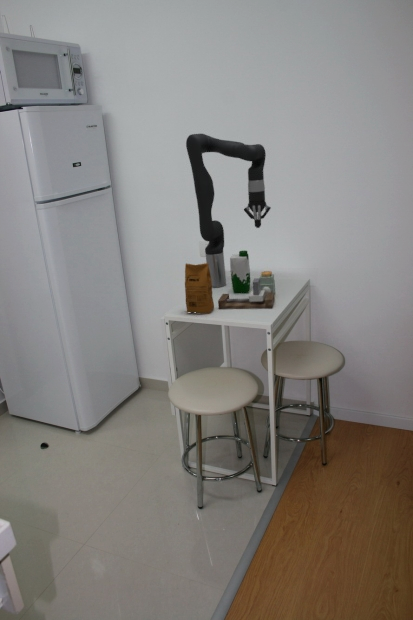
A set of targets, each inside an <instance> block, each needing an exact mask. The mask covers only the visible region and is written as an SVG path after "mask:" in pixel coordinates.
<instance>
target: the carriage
mask: <svg viewBox="0 0 413 620" xmlns="http://www.w3.org/2000/svg"><path fill="white" fill-rule="evenodd" d="M248 298H249V302H252V301H263V300H264V298H265V290H261V288H260V277H258V278H254V279H253V281H252V290H251V291H250V293H249V295H248Z"/></svg>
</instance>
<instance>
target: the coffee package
mask: <svg viewBox="0 0 413 620" xmlns="http://www.w3.org/2000/svg"><path fill="white" fill-rule="evenodd" d="M184 265H185V267H184V270H185V271H184V291H185V304H186V305H185V306H186V312H196V313H207V314H211V313H212V311H213V309H215V304H214V297H213V287H212V279H211V275H210V270H209V264H208V263H206V262H204V263H200V264H192V263H185V264H184ZM210 312H211V313H210ZM196 313H195V314H196Z"/></svg>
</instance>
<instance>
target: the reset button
mask: <svg viewBox="0 0 413 620" xmlns="http://www.w3.org/2000/svg"><path fill="white" fill-rule="evenodd" d="M272 274H273V273H272V271H271V270H266V271H262V272H261V274H260V276H261V275H262V276H263V277H271V275H272Z"/></svg>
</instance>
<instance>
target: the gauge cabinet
mask: <svg viewBox="0 0 413 620" xmlns="http://www.w3.org/2000/svg"><path fill="white" fill-rule="evenodd" d="M259 278H260V288H261V290H265V298H266V296H267V294H268V293H274V294H275V295H276V288H275V287H276V280H275V274H274V273H272V275H271V277H263V276H262V275H261V274H260V276H259Z"/></svg>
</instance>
